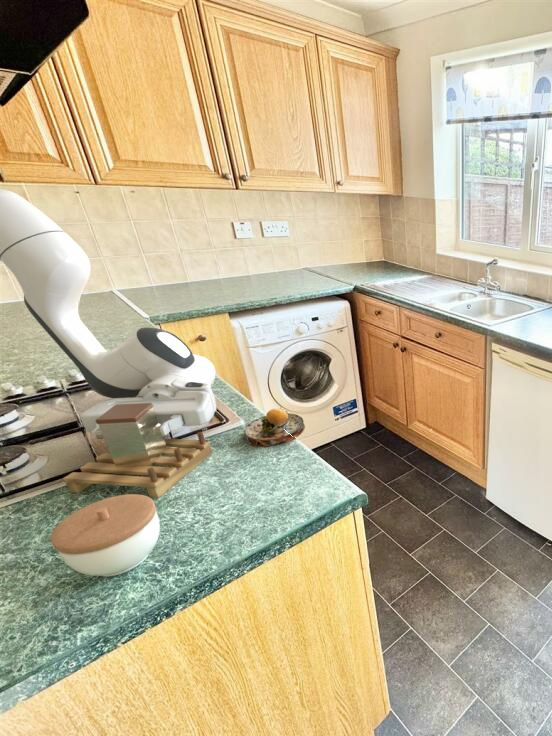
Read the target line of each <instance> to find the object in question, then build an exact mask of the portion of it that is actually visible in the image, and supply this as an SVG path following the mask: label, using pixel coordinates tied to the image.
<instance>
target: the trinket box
mask: <svg viewBox="0 0 552 736" xmlns="http://www.w3.org/2000/svg"><path fill="white" fill-rule="evenodd" d="M160 525H161V523H160V518H159V514H158V512H157V507H156V504H155V501H154V500H153V499H152V498H151V497H149V496H148V495H145V494H137V493H136V494H135V493H131V494H130V493H129V494H128V493H127V494H121V495H120V494H119V495H115V496H111V497H107V498H104V499H101V500H98V501H95V502H92V503H90V504H88V505H85V506H83V507H81V508H80V509H77V510H75V511H74V512H73V513H71V514H69V515H68V516H67V517H65V518H64V519H63V520H61V521H60V522H59V523H58V524H57V525H56V526H55V528H54V529H53V531H52V533H51V534H50V543H51V545H52V547H53V548H54V550H56V551H57V553H58V554H59V556H60V558H61V559H62V561H63V562H65V564H66V565H67V566H68V567H69V568H71V569H72V570H74V571H76V572H78V573H79V574H83V575H85V576H86V575H87V576H95V577H107V578H108V577H115V576H119V575H122V574H125V573H127V572H130V571H131V570H133V569H135V568H137V567H138V566H139V565H141V564H142V563H143V562H144V561H145V560H146V559H147V558H148V557H149V555H150V553H151V552H152V551H153V549H154V548H155V546H156V544H157V542H158V540H159V538H160V532H161V530H160V529H161V528H160V527H161V526H160Z"/></svg>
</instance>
